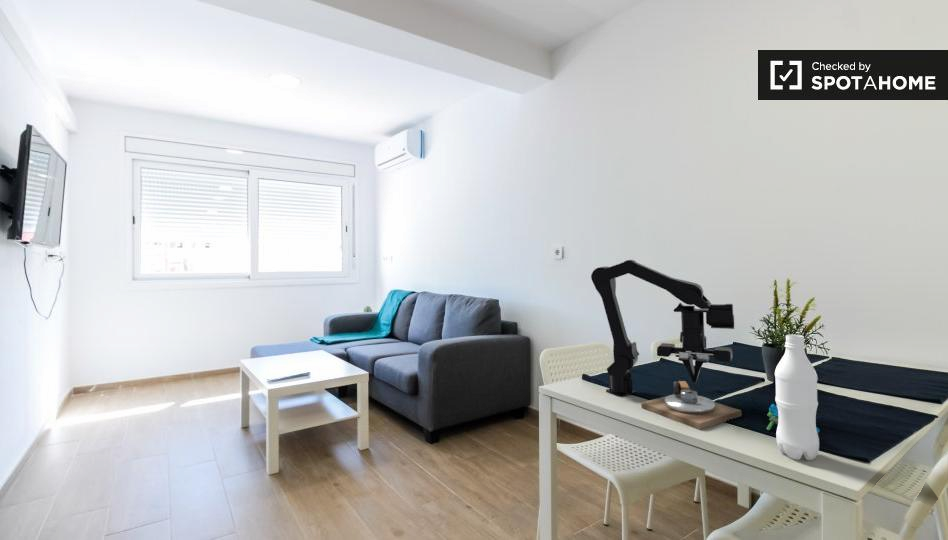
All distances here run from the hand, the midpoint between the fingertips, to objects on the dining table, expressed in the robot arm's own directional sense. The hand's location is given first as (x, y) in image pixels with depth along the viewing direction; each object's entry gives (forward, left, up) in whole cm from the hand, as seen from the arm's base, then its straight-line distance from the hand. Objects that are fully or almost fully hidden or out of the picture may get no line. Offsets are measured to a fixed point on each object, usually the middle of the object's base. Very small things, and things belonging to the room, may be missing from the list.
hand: (694, 381), depth 126 cm
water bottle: (+33, -11, -6) cm, 35 cm away
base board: (+5, -8, -6) cm, 11 cm away
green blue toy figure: (+26, -2, -6) cm, 27 cm away
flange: (+3, -7, -4) cm, 8 cm away
